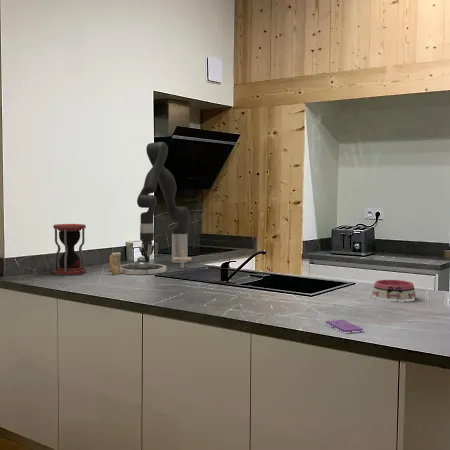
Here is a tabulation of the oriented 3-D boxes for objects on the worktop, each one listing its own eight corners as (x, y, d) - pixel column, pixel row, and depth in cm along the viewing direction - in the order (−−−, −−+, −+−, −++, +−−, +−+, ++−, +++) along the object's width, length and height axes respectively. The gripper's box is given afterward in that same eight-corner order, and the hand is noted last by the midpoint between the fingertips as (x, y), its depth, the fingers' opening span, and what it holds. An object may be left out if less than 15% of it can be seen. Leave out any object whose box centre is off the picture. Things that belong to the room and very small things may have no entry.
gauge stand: (114, 273, 297) (114, 252, 296) (122, 274, 295) (122, 252, 294) (110, 274, 293) (110, 253, 292) (117, 275, 291) (117, 253, 290)
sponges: (343, 324, 196) (343, 319, 196) (363, 333, 184) (364, 328, 184) (325, 326, 193) (325, 320, 193) (344, 335, 182) (345, 329, 181)
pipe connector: (190, 269, 314) (190, 251, 313) (172, 269, 314) (172, 251, 313) (191, 266, 324) (192, 249, 323) (174, 266, 324) (174, 249, 323)
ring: (112, 267, 317) (112, 252, 316) (166, 267, 320) (166, 252, 319) (107, 274, 291) (107, 258, 291) (166, 274, 294) (166, 258, 293)
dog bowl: (370, 301, 235) (371, 284, 235) (371, 293, 253) (371, 277, 252) (417, 304, 230) (418, 287, 230) (415, 295, 248) (415, 280, 248)
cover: (138, 269, 310) (139, 256, 310) (151, 271, 307) (151, 256, 307) (130, 271, 303) (130, 257, 303) (143, 273, 300) (143, 258, 299)
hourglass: (80, 275, 289) (80, 226, 287) (49, 274, 289) (48, 225, 287) (89, 270, 305) (89, 223, 303) (59, 270, 305) (59, 223, 303)
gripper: (147, 230, 317) (147, 261, 318) (134, 232, 304) (134, 264, 306) (159, 231, 314) (159, 262, 315) (146, 233, 301) (146, 265, 303)
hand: (146, 263), depth 310 cm, fingers closed
